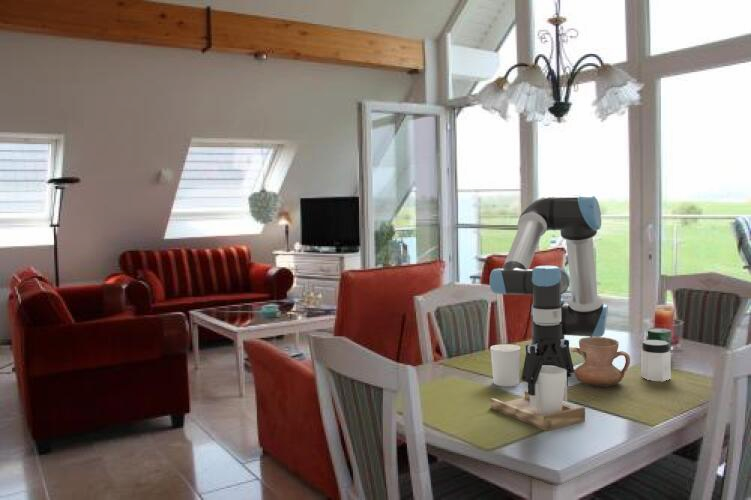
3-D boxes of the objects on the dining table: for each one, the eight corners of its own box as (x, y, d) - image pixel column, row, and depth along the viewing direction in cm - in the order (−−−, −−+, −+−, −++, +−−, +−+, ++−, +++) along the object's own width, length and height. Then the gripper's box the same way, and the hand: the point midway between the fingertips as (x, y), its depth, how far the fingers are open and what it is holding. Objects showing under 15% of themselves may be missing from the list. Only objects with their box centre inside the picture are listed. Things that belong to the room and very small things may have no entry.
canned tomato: (645, 360, 235) (645, 331, 234) (649, 356, 241) (649, 327, 240) (669, 363, 230) (669, 332, 229) (672, 358, 237) (672, 328, 236)
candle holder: (522, 379, 216) (522, 344, 215) (519, 388, 207) (518, 351, 206) (493, 378, 220) (492, 343, 219) (489, 386, 210) (488, 350, 209)
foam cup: (527, 411, 182) (526, 366, 181) (559, 409, 183) (558, 364, 182) (538, 422, 173) (538, 375, 172) (571, 420, 173) (571, 373, 172)
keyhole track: (490, 407, 189) (490, 395, 189) (527, 399, 196) (527, 387, 195) (546, 431, 169) (546, 417, 168) (585, 420, 175) (585, 407, 175)
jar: (659, 383, 207) (659, 346, 206) (636, 378, 214) (636, 342, 213) (675, 378, 212) (675, 342, 211) (652, 373, 218) (652, 338, 217)
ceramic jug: (568, 387, 206) (568, 344, 205) (573, 375, 219) (573, 334, 218) (629, 393, 199) (629, 348, 197) (630, 380, 212) (631, 337, 211)
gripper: (525, 330, 167) (526, 414, 169) (587, 319, 178) (588, 398, 179) (506, 325, 174) (508, 406, 175) (567, 315, 184) (568, 392, 186)
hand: (548, 402), depth 177 cm, fingers open, 10 cm apart
